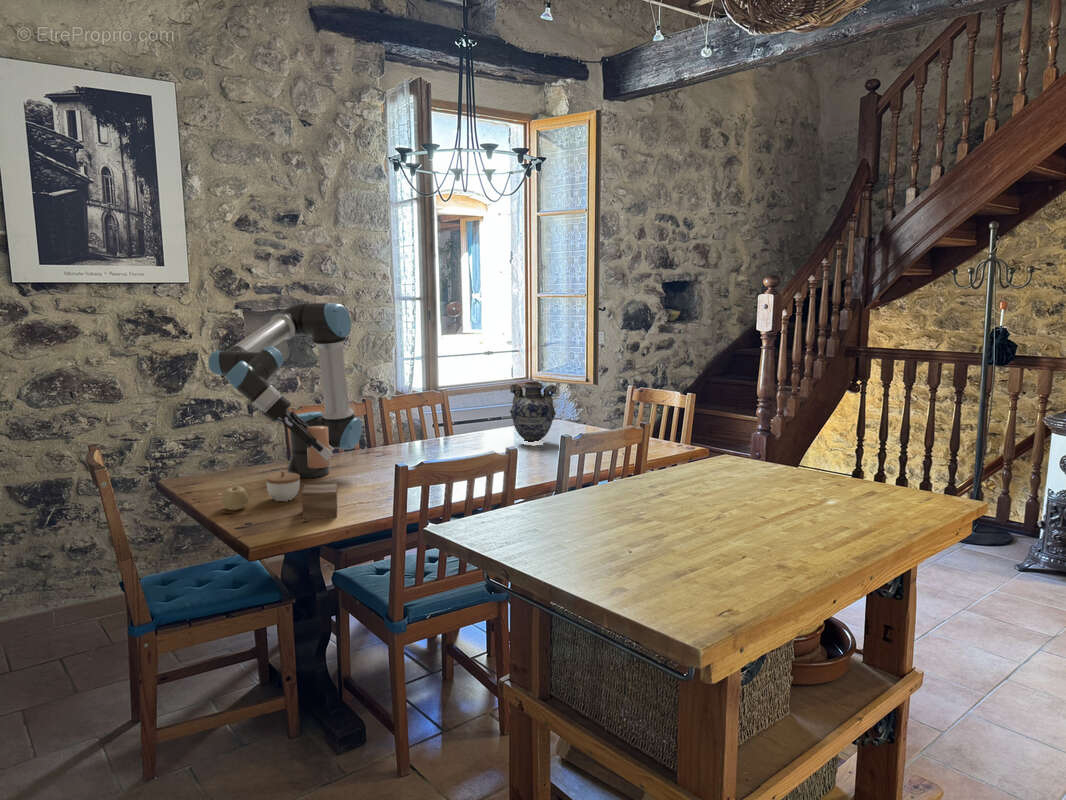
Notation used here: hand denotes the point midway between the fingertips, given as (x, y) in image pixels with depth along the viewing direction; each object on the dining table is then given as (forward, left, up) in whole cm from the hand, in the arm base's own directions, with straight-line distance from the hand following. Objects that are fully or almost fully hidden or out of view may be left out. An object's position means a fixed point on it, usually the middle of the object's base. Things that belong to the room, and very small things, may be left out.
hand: (330, 454), depth 232 cm
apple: (-11, -30, -19) cm, 37 cm away
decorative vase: (-90, +86, -19) cm, 126 cm away
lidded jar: (-19, -16, -19) cm, 31 cm away
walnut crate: (0, -3, -19) cm, 19 cm away
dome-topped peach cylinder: (0, -4, -3) cm, 5 cm away
